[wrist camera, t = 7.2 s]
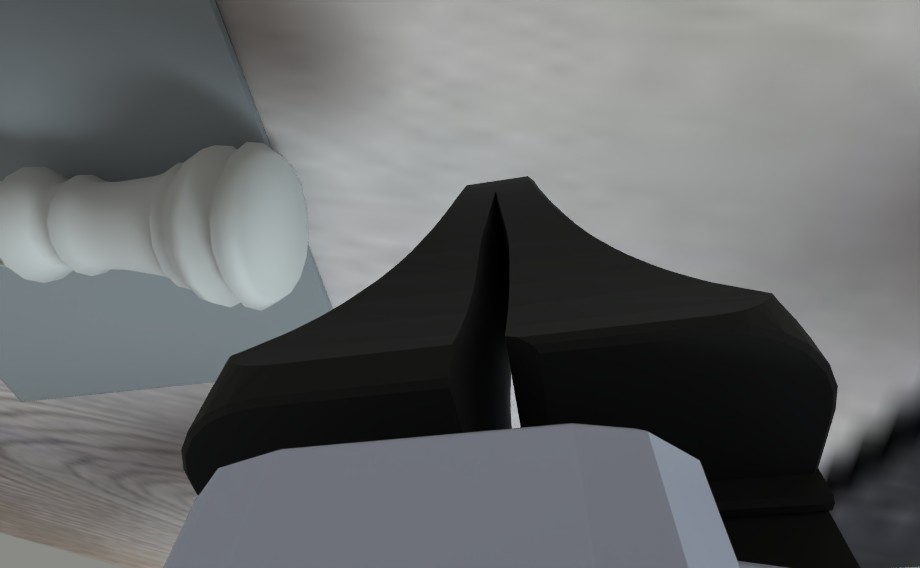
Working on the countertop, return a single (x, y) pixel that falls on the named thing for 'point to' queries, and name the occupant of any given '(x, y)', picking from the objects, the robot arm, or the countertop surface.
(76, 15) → the mat
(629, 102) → the countertop surface
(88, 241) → the rook chess piece
